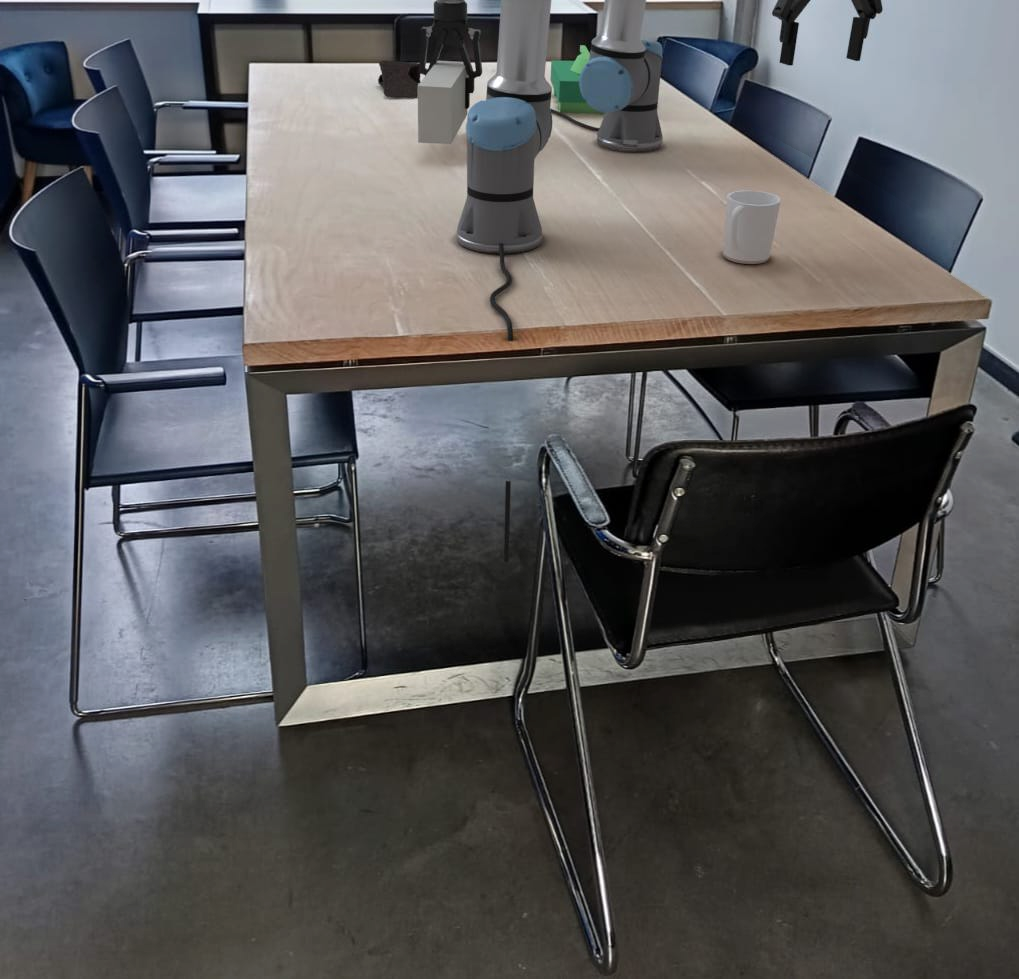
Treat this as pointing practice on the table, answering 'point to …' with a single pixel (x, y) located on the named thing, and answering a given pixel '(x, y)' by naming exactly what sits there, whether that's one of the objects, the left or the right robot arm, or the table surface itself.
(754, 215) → the mug
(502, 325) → the table surface
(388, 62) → the axe head
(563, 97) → the toy tank
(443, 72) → the box
